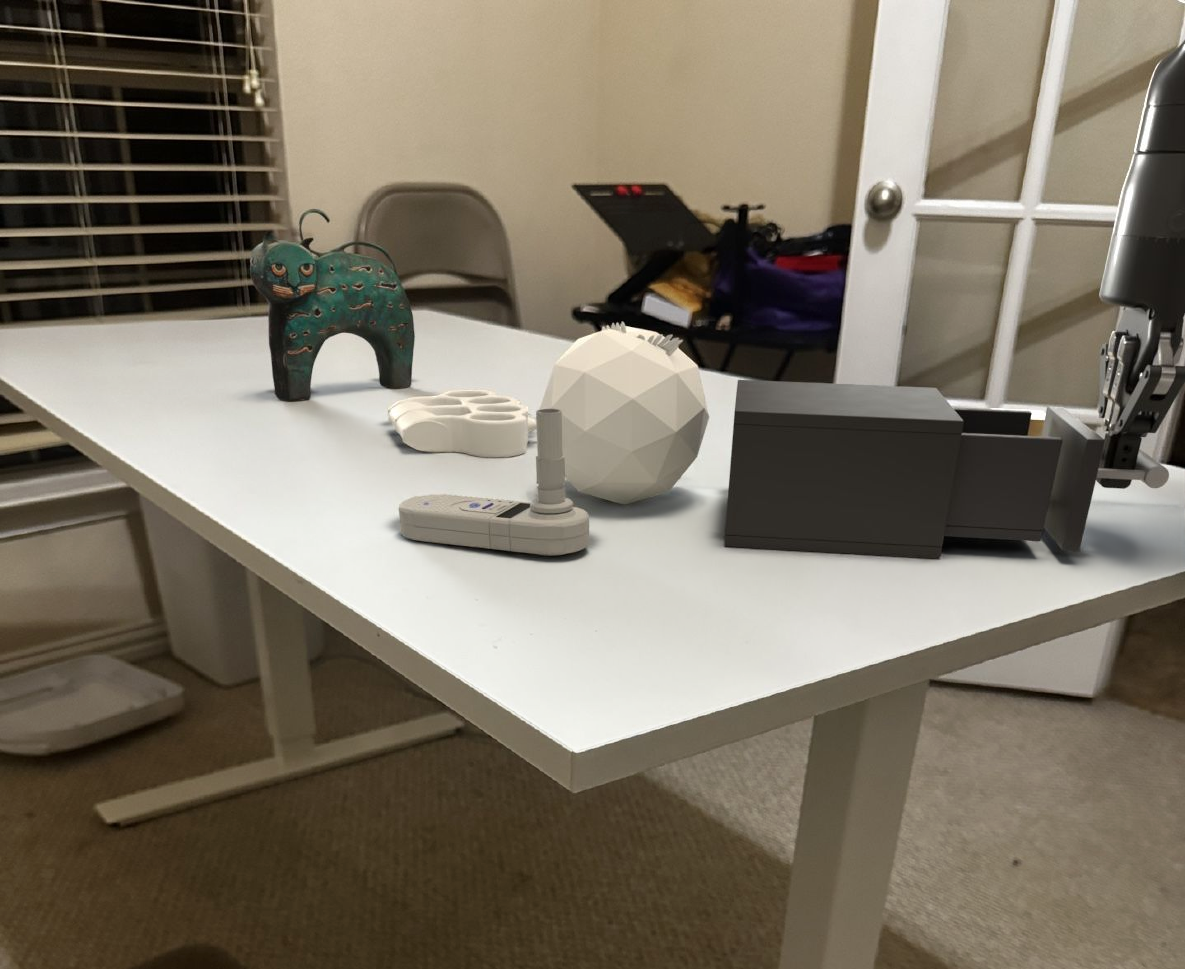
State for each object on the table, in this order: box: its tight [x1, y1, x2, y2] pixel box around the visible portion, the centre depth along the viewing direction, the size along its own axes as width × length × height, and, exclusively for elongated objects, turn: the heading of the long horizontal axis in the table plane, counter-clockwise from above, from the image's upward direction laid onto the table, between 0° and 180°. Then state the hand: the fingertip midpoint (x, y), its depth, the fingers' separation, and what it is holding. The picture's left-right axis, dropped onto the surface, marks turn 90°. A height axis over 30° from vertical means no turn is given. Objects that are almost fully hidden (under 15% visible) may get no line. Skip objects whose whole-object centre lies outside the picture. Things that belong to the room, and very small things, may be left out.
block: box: [989, 408, 1046, 437], centre depth 108 cm, size 5×5×5 cm
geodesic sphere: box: [538, 321, 710, 506], centre depth 93 cm, size 15×14×14 cm
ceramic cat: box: [249, 208, 416, 403], centre depth 133 cm, size 20×6×20 cm, turn 132°
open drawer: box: [944, 406, 1170, 552], centre depth 86 cm, size 20×13×8 cm, turn 83°
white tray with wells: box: [387, 389, 537, 458], centre depth 115 cm, size 3×18×15 cm
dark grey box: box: [723, 379, 964, 560], centre depth 87 cm, size 16×14×10 cm
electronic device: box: [398, 408, 590, 557], centre depth 82 cm, size 5×10×15 cm
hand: (1111, 485), depth 85 cm, fingers closed
